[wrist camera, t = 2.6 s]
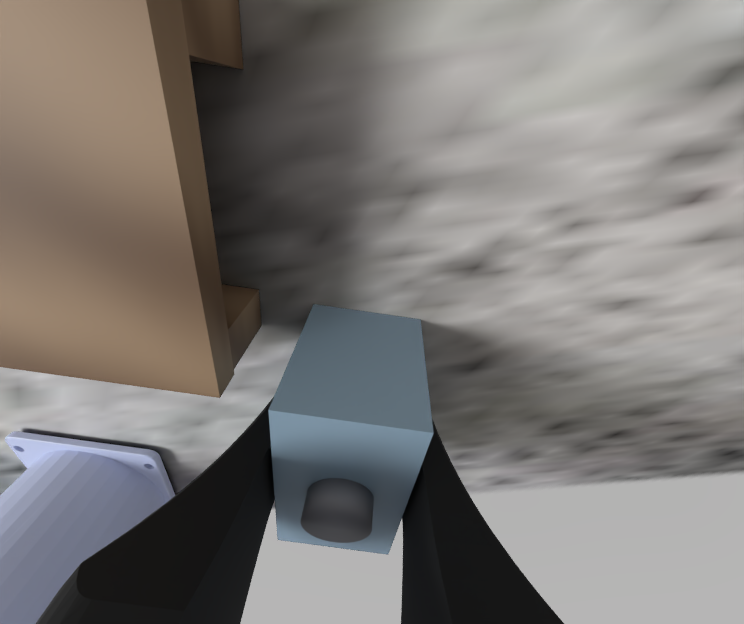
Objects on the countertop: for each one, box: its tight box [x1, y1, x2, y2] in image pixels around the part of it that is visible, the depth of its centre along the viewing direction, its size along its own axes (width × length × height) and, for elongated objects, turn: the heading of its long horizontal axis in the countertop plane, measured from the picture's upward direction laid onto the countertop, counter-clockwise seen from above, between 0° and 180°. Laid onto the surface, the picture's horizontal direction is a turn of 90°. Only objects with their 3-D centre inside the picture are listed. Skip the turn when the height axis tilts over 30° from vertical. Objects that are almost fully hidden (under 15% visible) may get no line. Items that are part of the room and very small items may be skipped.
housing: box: [268, 304, 434, 554], centre depth 11 cm, size 7×4×6 cm, turn 173°
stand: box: [0, 0, 261, 398], centre depth 8 cm, size 10×10×4 cm
